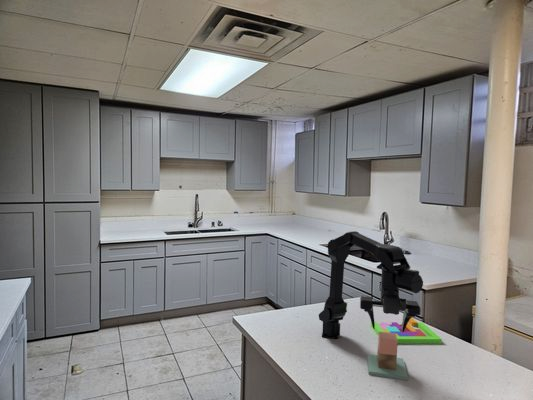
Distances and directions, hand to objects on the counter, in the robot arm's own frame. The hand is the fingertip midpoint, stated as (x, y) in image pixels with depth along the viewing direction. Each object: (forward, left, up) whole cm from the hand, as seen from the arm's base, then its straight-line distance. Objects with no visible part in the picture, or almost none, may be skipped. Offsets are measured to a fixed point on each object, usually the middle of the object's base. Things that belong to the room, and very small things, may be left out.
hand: (388, 330), depth 120 cm
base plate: (0, 0, -13) cm, 13 cm away
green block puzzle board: (+8, +34, -14) cm, 37 cm away
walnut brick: (0, 0, -12) cm, 12 cm away
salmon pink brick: (0, 0, -7) cm, 7 cm away
